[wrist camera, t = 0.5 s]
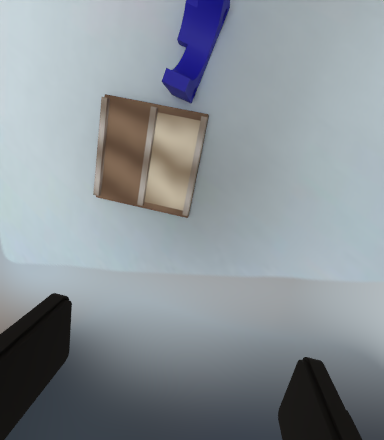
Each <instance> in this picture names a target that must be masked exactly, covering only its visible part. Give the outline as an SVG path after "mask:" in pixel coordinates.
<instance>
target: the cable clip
mask: <svg viewBox="0 0 384 440" xmlns="http://www.w3.org/2000/svg"><path fill="white" fill-rule="evenodd" d="M229 8H230V0H186V4H185V11H184V16H183V21H182V25H181V29H180V32H179V36H178V39H177V40H178V43H179V44H180V45H182V46H184V47H186V50H185V52H184V54H183V57H182V58H181V60H180V62H179V63H178V65H177V66H176V67H175V68H174V69H173V70H170V69H168V68H166V71H165V74H164V76H163V79H162V82H163V84H164V85H165V86H166V87H167V89H168V90H169V91H170V93H171V94H172V95H174V96H176V97H178V98H181V99H183V100H185V101H187V102H189V103H192V101H193V98H194V96H195V93H196V91H197V88H198V86H199V83H200V81H201V78H202V76H203V73H204V71H205V68H206V66H207V63H208V61H209V58H210V56H211V53H212V51H213V48H214V46H215V43H216V41H217V38H218V36H219V33H220V31H221V28H222V26H223V23H224V21H225V18H226V16H227V13H228V11H229Z"/></svg>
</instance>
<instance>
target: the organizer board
mask: <svg viewBox="0 0 384 440" xmlns="http://www.w3.org/2000/svg"><path fill="white" fill-rule="evenodd" d="M208 117H209V115H208V114H204V113H198V112H193V111H188V110H183V109H178V108H173V107H167V106H162V105H157V104H152V103H147V102H142V101H137V100H131V99H126V98H121V97H116V96H111V95H106V94H105V97H102V100H101V112H100V124H99V136H98V147H97V159H96V171H95V182H94V194H93V195H96V197H98V198H103V199H107V200H111V201H116V202H120V203H124V204H129V205H133V206H138V207H142V208H146V209H151V210H155V211H159V212H164V213H168V214H173V215H177V216H181V217H186V218H188V216H189V211H190V206H191V201H192V197H193V192H194V187H195V182H196V177H197V172H198V167H199V162H200V157H201V152H202V147H203V142H204V137H205V132H206V127H207V122H208Z"/></svg>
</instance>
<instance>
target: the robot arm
mask: <svg viewBox="0 0 384 440" xmlns="http://www.w3.org/2000/svg"><path fill="white" fill-rule="evenodd" d="M71 305H72V303H71V301H69V298H68V297H67V296H63V295H60V294H56V293H54V294H51V295H50V296H49V297H48V298H46V299H45V300H44V301H42V302H41V303H40V304H39V305H37V306H36V307H35V308H33V309H32V310H31V311H30V312H28V313H27V314H26V315H25V316H23V317H22V318H21V319H19V320H18V321H17V322H16V323H14V324H13V325H12V326H10V327H9V328H8V329H7V330H5V331H4V332H3V333H1V334H0V440H4V439H5V438H6V437H7V435H8V434H9V433H10V432H11V430H12V429H13V428H14V427H15V425H16V424H17V423H18V421H19V420H20V419H21V418H22V416H23V415H24V414H25V412H26V411H27V410H28V409H29V407H30V406H31V405H32V403H33V402H34V401H35V400H36V398H37V397H38V396H39V395H40V393H41V392H42V391H43V389H44V388H45V387H46V385H47V384H48V383H49V382H50V380H51V379H52V378H53V376H54V375H55V374H56V373H57V371H58V370H59V369H60V367H61V366H62V365H63V364H64V362H65V361H66V359H67V357H68V354H69V345H70V324H71V307H72V306H71ZM278 420H279V425H280V430H281V435H282V439H283V440H362V438H361V436H360V434H359V432H358V430H357V428H356V426H355V424H354V422H353V420H352V418H351V416H350V415H349V413H348V411H347V410H346V409H345V407H344V405H343V403H342V401H341V399H340V397H339V395H338V393H337V390H336V388H335V386H334V384H333V382H332V380H331V378H330V376H329V374H328V372H327V370H326V368H325V366H324V364H323V362H322V361H320V360H316V359H312V358H308V357H304V358H303V360H299V361H298V363H297V365H296V368H295V370H294V373H293V375H292V378H291V380H290V383H289V385H288V388H287V390H286V393H285V395H284V398H283V400H282V403H281V406H280V408H279V412H278Z"/></svg>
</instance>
